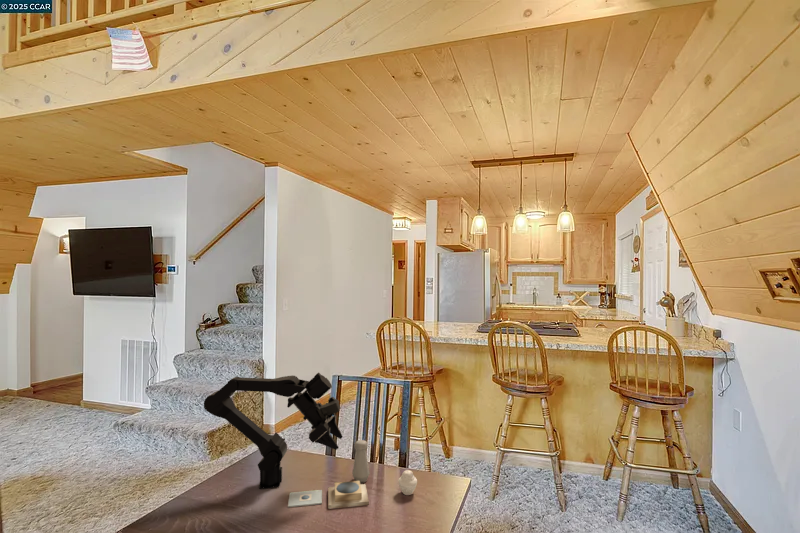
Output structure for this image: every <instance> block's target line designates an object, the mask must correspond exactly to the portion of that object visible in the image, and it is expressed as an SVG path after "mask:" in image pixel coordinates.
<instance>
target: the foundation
mask: <svg viewBox="0 0 800 533" xmlns="http://www.w3.org/2000/svg"><path fill="white" fill-rule="evenodd" d="M327 490H328V492H327V496H328V503H327V504H328V509H329V510H330V509H331V510H332V509H341V508H350V507H360V506H369V504H370V501H369V495H368V491H367V485H366V483H364V484H363V483H360V481H355V480H352V481H351V480H350V481H340V482H334V486H329V487H328V488H327Z"/></svg>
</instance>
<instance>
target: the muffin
mask: <svg viewBox="0 0 800 533" xmlns="http://www.w3.org/2000/svg"><path fill="white" fill-rule="evenodd" d="M397 484H398V487H399V489H400V491H401V492H402V494H403V495H404V496H405V495H406V496H409V495H413V493H414V491H416V490H415V489H416V488H417V484H418V479H417V477H416V476H415V475H414V473H413V471H412V470H408V469H406V470H404V471H402V474H401V476H400V477H399V478H398V480H397Z"/></svg>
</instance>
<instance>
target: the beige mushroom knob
mask: <svg viewBox="0 0 800 533" xmlns="http://www.w3.org/2000/svg"><path fill="white" fill-rule="evenodd" d="M367 448H368V442H367V441H366V440H363V439H360V440H356V441H355V442H354V449H355V456H354V461H353V468H352V472H351V473H352V477H353V480H354V481H360V484H363V483H365V482H367V480H368V479H369V476H370V468H369V463H368V462H369V461H368V456H367Z"/></svg>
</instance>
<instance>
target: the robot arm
mask: <svg viewBox="0 0 800 533" xmlns="http://www.w3.org/2000/svg"><path fill="white" fill-rule="evenodd" d="M332 388H333V386H332V383H331V382H330V380H329V379H328V378H327V377H325V376H324V375H323V374H321V373H320V372H317V373H316V374H315V375H314V376H313V377H312V378H311V379H310V380H304V379H299V378H298V376H296V375H287V376H286V375H285V376H281V377H277V378H276V377H275V378H261V377H260V378H259V377H240V376H234V377H233V378H230V379H229V381H227V383H225V385H224V386H222V387H221V388H220V389H219V390H216V391H214V392H212V393H211V394H210V395H207V397H205V399H204V402H203V409H204V411H206V412H207V413H209V414H211V415H213V416H214V417H217V418H221V419H224V420H226V421H227V422H228V423H229V424H230V425H232V427H234V428H235V429H236V430H237V431H239V432H240V434H243V436H244V437H246V438H247V439H248V440H249V441H251V442H252V443H253V444H254V445H255V446H257V448H258V449H257V450H259V453H260V455H261V456H262V458H261V459H260V461H259V462H258V463H257V467H258V469H259V470H258V471H259V486H258V489H259V490H262V489H273V488H279V487H280V486H281V483H282V481H283V466H281V463H282V461H283V458H284V457H285V455H286V453H287V452H288V444H287V442H286V438H283V437H281V436H280V435H279V433H278V432H274V434H268V433H267V432H266V431H264V430H263V429H262V428H261V427H260V426H258V424H256V423H255V422H254V421H252V419H251V418H249V417H248V416H247V415H246V414H244V413H243V412H242V411H241V410H240V409H238V408H237V407H236V405H235V402H234V400H233V398H232V396H233V394H235V393H236V392H262V393H265V392H266V393H267V392H268V393H272V394H274V395H277V396H282V397H286V398H287V408H291V407H292V406H293V405H294V406H295V407H296V409H297V410H298V411H299V412H300V413H301V415H302V416H303V417H302V419H303V420H304V421H306V420H307V421H308V423H309V424H311V431H310V432H309V434H308V439H309V440H310V442H312V443H314V444H319V445H323V446H325V447H328V448H330V449H333V450H338V449H339V446H338V444H337V442H336V440H335V439H334V437H335V438H337V439H340V440H341V439H342V438H343V434H342V432H341V430H340V429H339V426H338V424H337V420H336V419H337V413H339V412H340V409H341V405H340V400H338V398H336V397H334V396H331V397H329V398H328V401H327V402H326V403H325V404H322V403H321V402H316V400H319V399H321V398H322V397H323V396H324V395H325V394H327V392H329V391H330V390H331V389H332ZM332 435H333V436H334V437H333V436H332Z"/></svg>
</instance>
